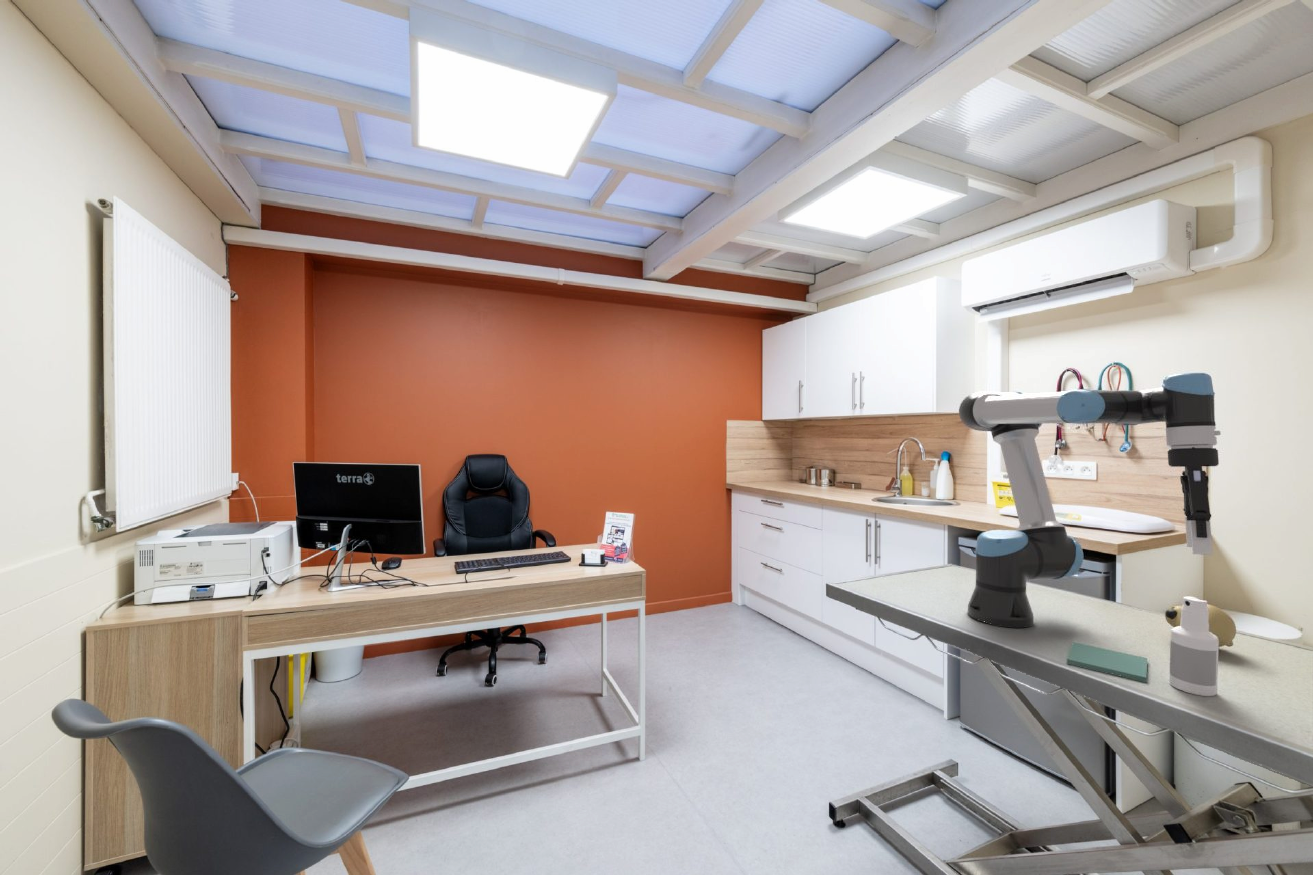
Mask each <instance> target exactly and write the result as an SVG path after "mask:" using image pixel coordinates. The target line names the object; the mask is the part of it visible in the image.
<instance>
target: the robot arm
mask: <svg viewBox="0 0 1313 875" xmlns="http://www.w3.org/2000/svg"><path fill="white" fill-rule="evenodd" d="M1161 386H1162V387H1158V388H1151V389H1150V388H1149V389H1143V390H1140V389H1139V390H1120V389H1119V390H1112V389H1111V390H1105V389H1104V390H1103V389H1102V390H1101V389H1089V388H1080V389H1079V388H1078V389H1071V390H1068V391H1056V392H1044V393H1043V392H1040V393H1028V392H1019V391H1009V392H1007V391H1004V392H1003V391H1002V392H1001V391H998V392H997V391H977V392H975V393H971V394H970V395H967V396H966V397H964V399H963V400H962V401H961V403H960V404H959V409H958V415H959V419H960V420H961V422H962V423H963V425H965V427H968V428H969V429H971V430H974V431H977V432H978V431H980V432H991V437H992V440H993V442H995V443H997V444H999V445H1000V448H1001V453H1002V456H1003V461H1004V465H1005V470H1006V473H1007V477H1008V482H1009V486H1010V489H1011V493H1012V496H1013V497H1012V498H1013V501H1014V506H1015V509H1016V510H1015V511H1016V514H1017V519H1018V521H1019V526H1018V527H1017V528H1016V529H1014V530H1013V529H993V530H992V529H991V530H987V531H983V532H981V533H980V534H979V535H978V536H977V539H976V546H975V552H976V553H975V555H976V556H975V561H976V562H975V587H974V589H973V591H972V595H971V597H970V599H969V601H968V603H967V615H968V614H969V615H970V618H972V617H974V618H975V619H974V618H973V619H974V620H976V619H979V620H980V621H979V620H978V621H979V622H981V621H985V622H987V623H986V624H988V623H991V624H990V625H992V624H993V625H994V626H997V627H1005V628H1011V629H1012V628H1015V629H1020V628H1021V629H1022V628H1023V629H1024V628H1030V627H1032V626H1033V625H1034V617H1035V616H1034V613H1033V610H1032V607H1031V604H1030V601H1029V598H1028V595H1027V580H1050V579H1051V580H1059V579H1066V578H1071V577H1072V576H1075V575H1077V573H1078V572H1079V570H1080V569H1081V568H1082V565H1083V562H1084V552H1083V547H1082V546H1081V543H1080V542H1079V541H1078V540H1076V537H1073V536H1071V535H1069V534H1068V533H1067V530H1066V526H1065V525H1064V524H1062V523H1060V522H1059V521H1057V519H1056V514H1055V510H1054V507H1053V504H1052V499H1051V496H1050V492H1049V488H1048V484H1047V480H1046V476H1045V472H1044V468H1043V465H1042V461H1041V458H1040V453H1039V450H1038V447H1037V443H1036V440H1035V439H1036V437H1037V436H1038V435H1039V434H1040V429H1039V428H1040V427H1041V426H1042V425H1043V424H1076V425H1077V424H1080V425H1081V424H1083V425H1084V424H1085V425H1086V424H1087V425H1088V424H1109V425H1110V424H1113V425H1114V424H1115V425H1117V426H1137V425H1140V424H1141V425H1142V424H1143V425H1144V424H1152V423H1159V422H1161V423H1164V422H1165V435H1166V437H1165V440H1166V446H1167V447H1168V448H1170V449H1168V451H1167V461H1168V462H1167V463H1168V466H1169V467H1171V468H1172V467H1177V468H1179V467H1180V468H1181V467H1183V468H1184V470H1183V471H1182V473H1181V475H1180V476H1179V477H1180V478H1179V481H1180V485H1181V491H1182V493H1183V513H1184V522H1185V524H1184V525H1185V538H1186V547H1187V548H1192V554H1193V555H1201V556H1203V555H1204V556H1213V547H1212V545H1213V544H1212V543H1213V542H1212V528H1211V521H1210V520H1211V518H1212V514H1211V509H1210V503H1209V502H1210V501H1209V475H1207V472H1206V470H1203V467H1218V466H1219V462H1220V461H1219V450H1218V449H1217V448H1216V447H1215V448H1214V446H1216V445H1217V444H1218V441H1217V439H1218V438H1217V436H1220V435H1222V434H1221V431H1220V430H1216V428H1217V427H1216V425H1217V424H1216V421H1215V420H1216V419H1215V417H1216V416H1215V394H1216V393H1215V391H1214V386H1213V380H1212V377H1211V375H1210V374H1208V373H1205V372H1186V373H1177V374H1171V375H1168V376H1167V375H1166V376H1165V377H1164V378H1163V379H1162V385H1161ZM969 615H968V616H969ZM985 622H984V623H985ZM993 625H992V626H993Z"/></svg>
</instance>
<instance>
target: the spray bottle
mask: <svg viewBox="0 0 1313 875" xmlns="http://www.w3.org/2000/svg"><path fill="white" fill-rule="evenodd" d="M1182 599H1183V600H1182V606H1183V607H1182V608H1181V621H1180V626H1177V627H1172V628H1171V629H1170V642H1169V645H1170V646H1169V647H1170V648H1169V680H1168V681H1169V684H1170V685H1171V686H1172V687H1173V688H1175V689H1177V690H1179V691H1182V692H1184V693H1188V694H1191V695H1196V696H1201V697H1215V696H1216V695H1217V694H1218V677H1219V676H1218V674H1219V673H1218V671H1219V669H1218V668H1219V647H1218V646H1219V640H1218V637H1217V636H1216V635H1214V634H1212V633H1211V632H1209V623H1208V618H1209V612H1208V609H1207V604H1208V600H1202V599H1199V598H1198V597H1195V596H1189V595H1188V596H1183V598H1182Z"/></svg>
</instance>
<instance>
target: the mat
mask: <svg viewBox="0 0 1313 875" xmlns="http://www.w3.org/2000/svg"><path fill="white" fill-rule="evenodd" d="M1067 663H1068V664H1067ZM1066 664H1067V665H1072V666H1075V665H1076V667H1081V668H1084V667H1085V669H1088V670H1092V669H1093V671H1097V672H1101V671H1102V673H1105V672H1107V673H1106V674H1109V673H1113V674H1115V675H1114V676H1117V675H1121V676H1123V677H1122V678H1126V679H1130V678H1132V679H1131V680H1134V681H1138V680H1139V681H1138V682H1142V683H1147V675H1148V670H1147V669H1148V658H1147V657H1145V656H1144V657H1143V656H1140V655H1135V654H1129V653H1127V652H1121V651H1116V650H1112V649H1108V648H1102V647H1099V646H1094V645H1089V644H1085V643H1080V642H1073V643H1072V645H1071V648H1070V651H1069V654H1068V656H1067V658H1066ZM1113 674H1112V675H1113ZM1121 676H1120V677H1121Z"/></svg>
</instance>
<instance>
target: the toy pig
mask: <svg viewBox="0 0 1313 875" xmlns="http://www.w3.org/2000/svg"><path fill="white" fill-rule="evenodd" d="M1182 607H1183V605H1172V606H1171V607H1170V608H1169V609H1167V610H1166V611H1165V613H1164V614H1165V616H1164V618H1165V620H1166V622H1167V623H1168V624H1169V625H1171V627H1172V628H1174V627H1177V626H1180V621H1181V608H1182ZM1207 609H1208V612H1209V618H1208V623H1209V632H1211V633H1212V634H1214V635H1216V636H1217V637H1218V640H1219V646H1218V648H1221V647H1224V646H1226V647H1229V648H1230V647H1233V646H1234V642H1233V641H1234V639H1235V638H1236V635H1237V626H1236V624H1235V621H1234V620H1233V618H1232V617H1231V616H1230V614H1228V613H1227V612H1225V611H1224V610H1223V609H1221V608H1219V607H1217V606H1214V605H1212V604H1208V603H1207Z"/></svg>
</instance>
